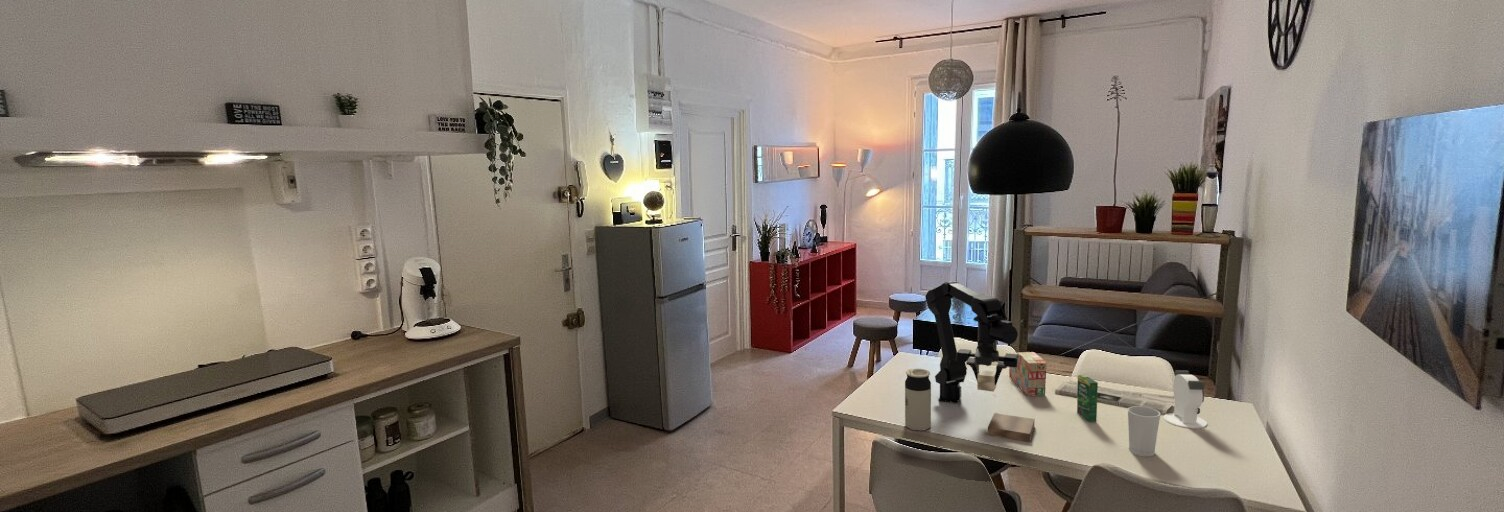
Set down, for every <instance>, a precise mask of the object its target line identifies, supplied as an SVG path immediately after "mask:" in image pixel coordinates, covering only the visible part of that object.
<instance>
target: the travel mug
mask: <svg viewBox="0 0 1504 512" xmlns="http://www.w3.org/2000/svg"><path fill="white" fill-rule="evenodd" d="M905 374H906V379H905V380H904V418H905V419H904V421H905V422H904V425H905V426H906V428H907V429H910V430H914V431H926V430H929V429H931V426H932V425H931V424H932V386H931V385H932V382H931V380H930V376H931V372H930V371H929V370H927V369H925V368H909V369H907V370H906V371H905Z"/></svg>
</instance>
